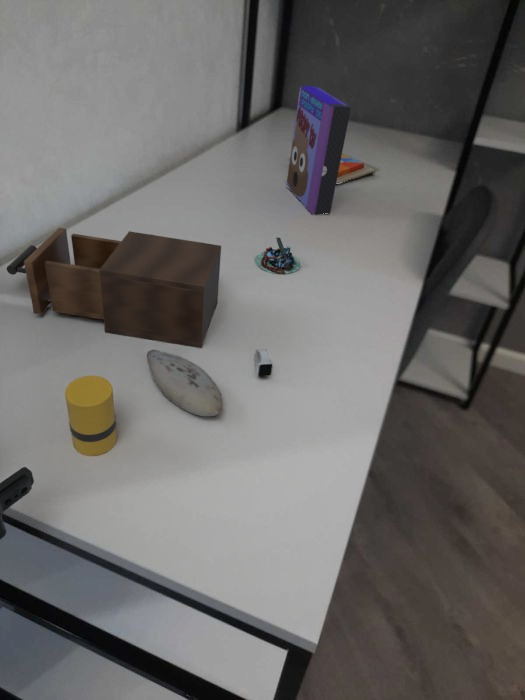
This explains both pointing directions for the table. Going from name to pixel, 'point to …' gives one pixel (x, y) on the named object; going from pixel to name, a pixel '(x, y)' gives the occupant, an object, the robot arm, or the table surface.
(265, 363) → the smartwatch
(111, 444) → the tape canister
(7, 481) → the robot arm
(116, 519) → the table surface
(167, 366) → the decorative stone
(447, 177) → the table surface
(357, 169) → the wooden puzzle
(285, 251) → the dish
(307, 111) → the cereal box
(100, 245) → the drawer
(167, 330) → the cabinet
